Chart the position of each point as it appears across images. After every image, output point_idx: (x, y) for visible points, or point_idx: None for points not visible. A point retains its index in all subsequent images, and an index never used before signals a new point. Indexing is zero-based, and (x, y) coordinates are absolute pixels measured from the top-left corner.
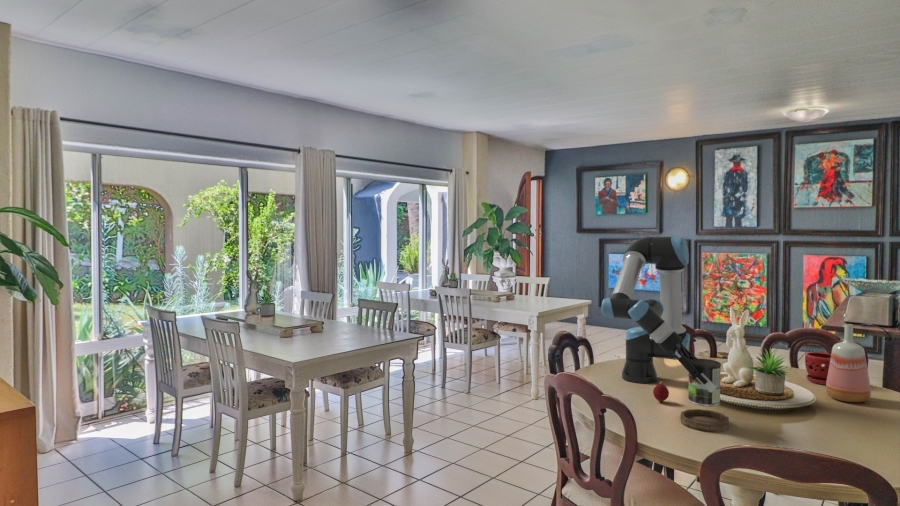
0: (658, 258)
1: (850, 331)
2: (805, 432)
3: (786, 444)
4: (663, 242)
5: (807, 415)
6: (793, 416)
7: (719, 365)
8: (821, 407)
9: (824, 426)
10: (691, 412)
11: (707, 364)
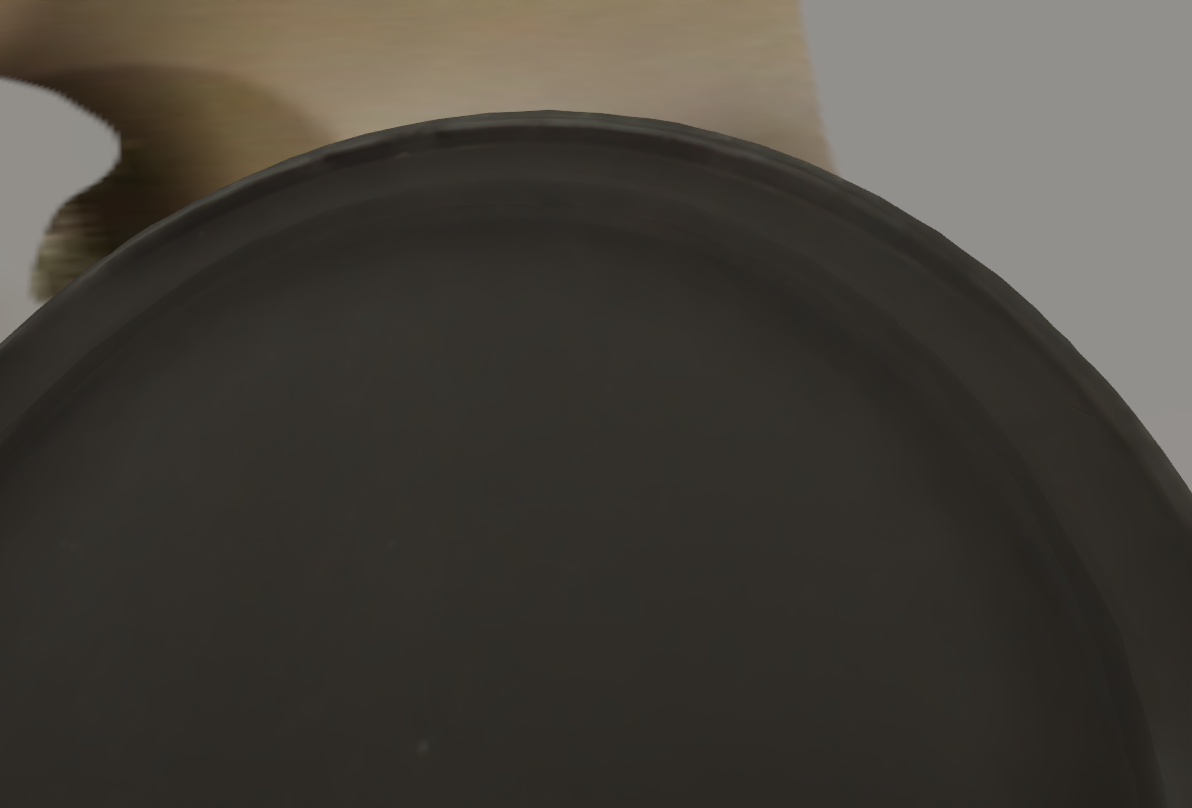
0: None
1: None
2: (498, 83)
3: (778, 144)
4: None
5: (178, 93)
6: (216, 147)
7: (684, 129)
8: (16, 50)
9: (352, 23)
10: None
11: (762, 537)
